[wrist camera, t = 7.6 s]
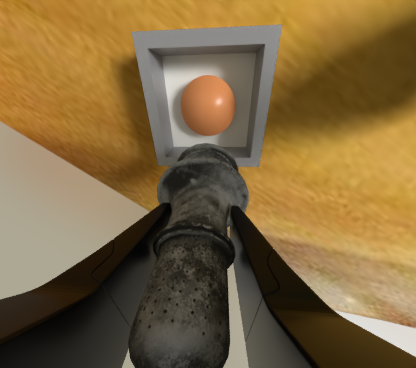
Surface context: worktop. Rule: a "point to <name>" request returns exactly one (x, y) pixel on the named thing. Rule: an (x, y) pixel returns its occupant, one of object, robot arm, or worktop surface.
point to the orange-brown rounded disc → (208, 105)
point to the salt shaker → (190, 265)
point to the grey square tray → (216, 66)
